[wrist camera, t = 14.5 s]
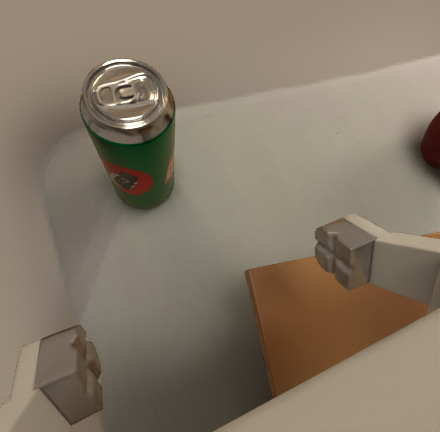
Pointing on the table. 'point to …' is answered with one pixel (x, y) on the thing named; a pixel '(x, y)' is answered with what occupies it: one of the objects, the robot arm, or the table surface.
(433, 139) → the mug
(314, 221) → the table surface
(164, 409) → the table surface
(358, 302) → the sliding lid
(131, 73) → the soda can
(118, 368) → the table surface
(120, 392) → the table surface
